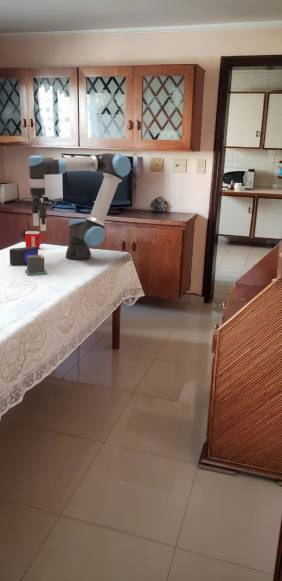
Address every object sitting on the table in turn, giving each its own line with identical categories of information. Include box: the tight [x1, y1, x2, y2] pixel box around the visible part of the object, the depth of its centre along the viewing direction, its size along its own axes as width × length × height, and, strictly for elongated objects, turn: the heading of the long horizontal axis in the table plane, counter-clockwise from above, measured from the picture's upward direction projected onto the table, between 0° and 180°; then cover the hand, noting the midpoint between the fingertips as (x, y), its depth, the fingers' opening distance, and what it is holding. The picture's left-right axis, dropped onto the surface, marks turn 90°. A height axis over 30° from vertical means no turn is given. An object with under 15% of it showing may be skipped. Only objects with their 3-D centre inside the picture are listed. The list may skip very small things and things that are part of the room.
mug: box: [24, 230, 46, 250], centre depth 285 cm, size 12×8×11 cm
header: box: [24, 269, 48, 277], centre depth 236 cm, size 10×7×6 cm
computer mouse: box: [9, 246, 39, 267], centre depth 250 cm, size 16×5×9 cm, turn 123°
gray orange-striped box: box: [26, 254, 46, 273], centre depth 235 cm, size 8×5×8 cm, turn 116°
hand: (39, 228), depth 238 cm, fingers open, 13 cm apart
